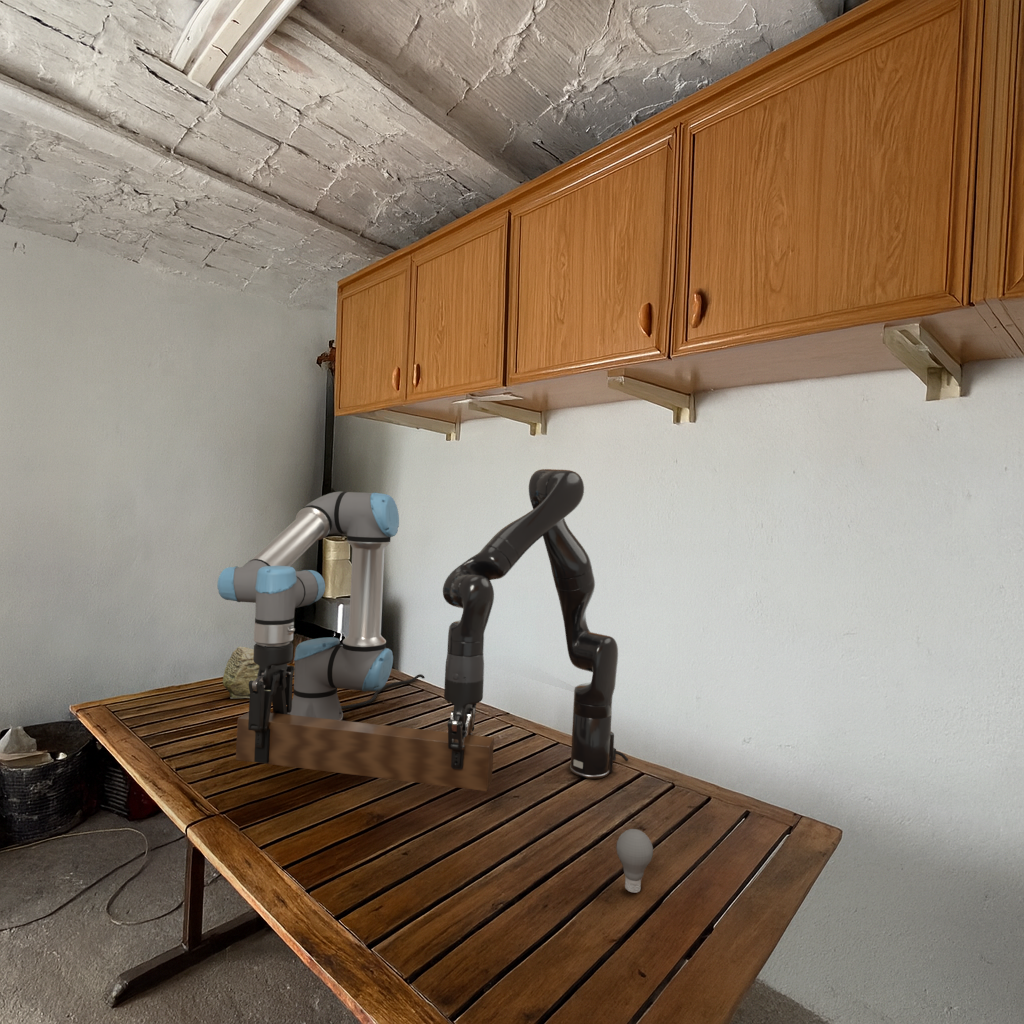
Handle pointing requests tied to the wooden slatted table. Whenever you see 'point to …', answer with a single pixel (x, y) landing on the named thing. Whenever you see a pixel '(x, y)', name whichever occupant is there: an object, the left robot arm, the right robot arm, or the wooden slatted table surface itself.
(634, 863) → the light bulb
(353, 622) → the left robot arm
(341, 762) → the beam
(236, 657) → the fossil
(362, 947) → the wooden slatted table surface
